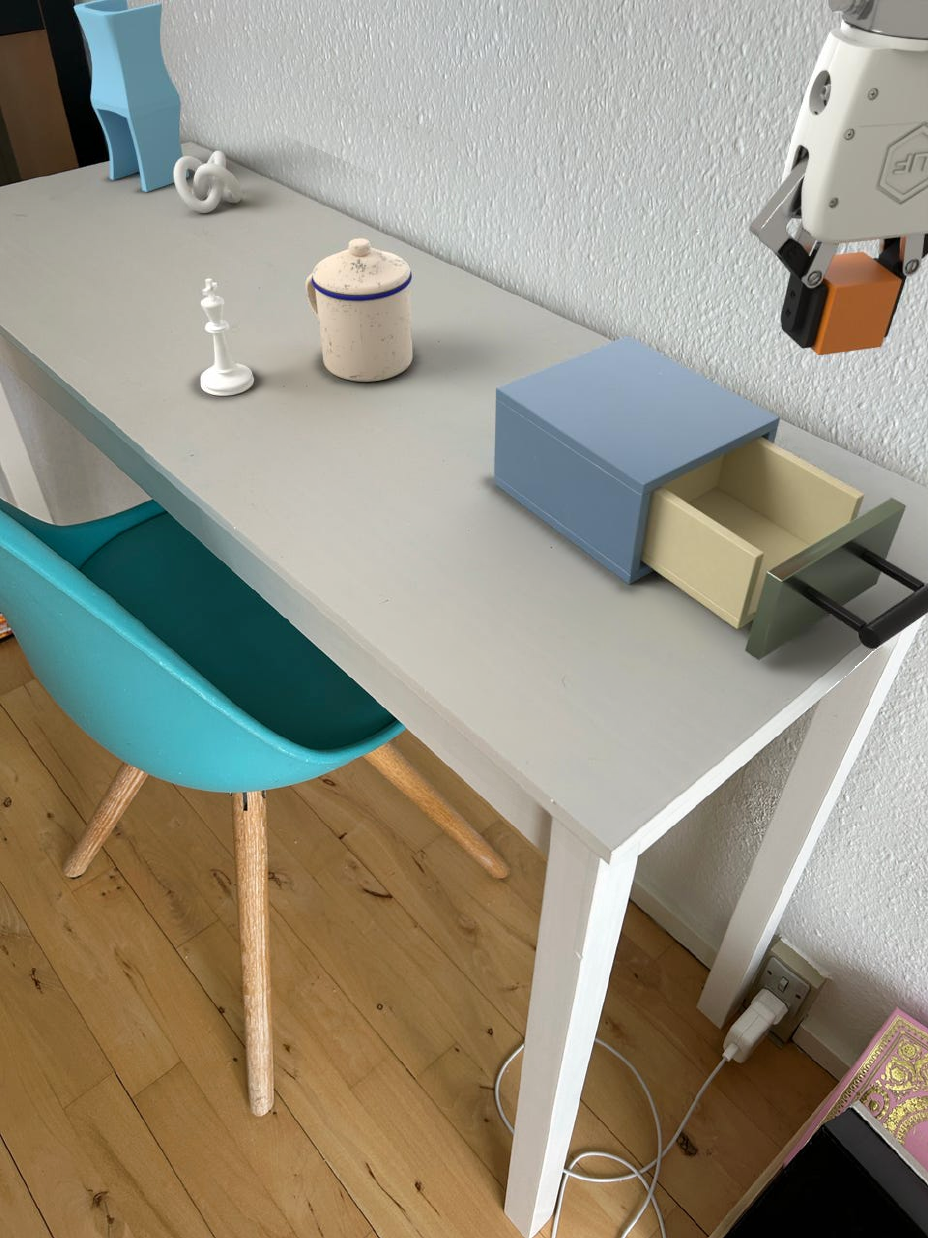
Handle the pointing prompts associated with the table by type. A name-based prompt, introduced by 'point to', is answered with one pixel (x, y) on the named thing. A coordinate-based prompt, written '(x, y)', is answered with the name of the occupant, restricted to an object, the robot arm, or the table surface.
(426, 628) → the table surface
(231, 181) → the knot
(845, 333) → the matte orange cube
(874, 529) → the drawer
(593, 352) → the drawer cabinet
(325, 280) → the teacup with lid
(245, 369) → the chess piece
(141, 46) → the vase
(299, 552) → the table surface
